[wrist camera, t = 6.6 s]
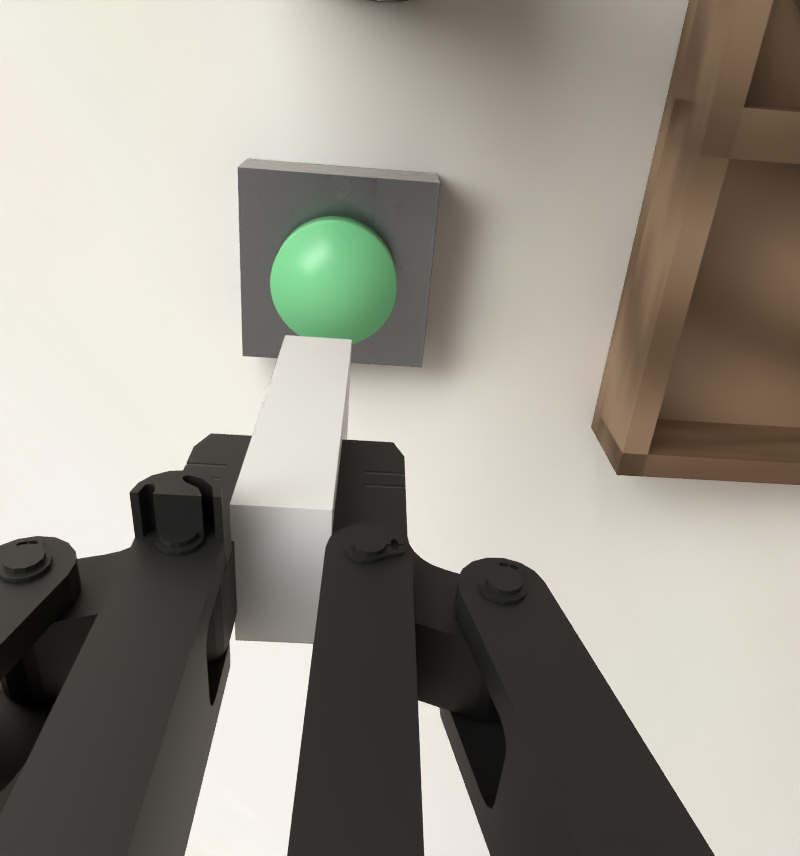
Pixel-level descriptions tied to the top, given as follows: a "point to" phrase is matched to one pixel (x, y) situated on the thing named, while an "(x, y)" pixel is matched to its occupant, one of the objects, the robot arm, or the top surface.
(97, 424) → the top surface
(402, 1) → the spotted tube
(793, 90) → the divided wooden tray
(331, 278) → the button
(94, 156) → the top surface
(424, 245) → the button housing
